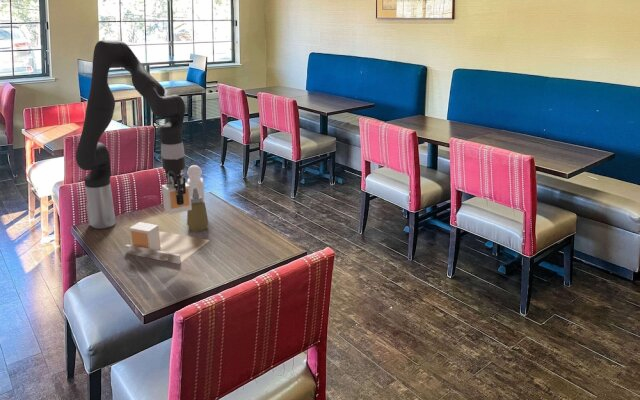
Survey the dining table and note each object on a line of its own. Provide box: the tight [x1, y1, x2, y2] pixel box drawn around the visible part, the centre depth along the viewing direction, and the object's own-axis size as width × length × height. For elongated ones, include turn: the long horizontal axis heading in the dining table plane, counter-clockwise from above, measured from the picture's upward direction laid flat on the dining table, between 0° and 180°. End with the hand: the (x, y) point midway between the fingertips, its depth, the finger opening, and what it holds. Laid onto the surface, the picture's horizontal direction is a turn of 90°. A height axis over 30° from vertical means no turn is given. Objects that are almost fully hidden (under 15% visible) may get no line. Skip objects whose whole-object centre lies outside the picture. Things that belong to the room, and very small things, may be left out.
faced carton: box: [128, 221, 161, 250], centre depth 194 cm, size 6×8×9 cm
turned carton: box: [161, 181, 192, 215], centre depth 190 cm, size 6×8×9 cm
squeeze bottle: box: [186, 188, 209, 232], centre depth 211 cm, size 8×8×18 cm
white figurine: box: [186, 164, 205, 203], centre depth 225 cm, size 6×6×22 cm
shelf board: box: [124, 230, 211, 264], centre depth 197 cm, size 22×20×4 cm
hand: (177, 201), depth 190 cm, fingers closed on turned carton, 6 cm apart
